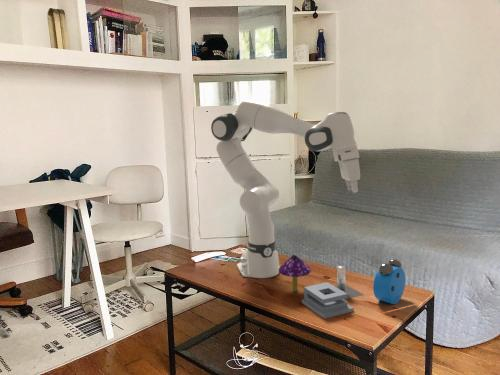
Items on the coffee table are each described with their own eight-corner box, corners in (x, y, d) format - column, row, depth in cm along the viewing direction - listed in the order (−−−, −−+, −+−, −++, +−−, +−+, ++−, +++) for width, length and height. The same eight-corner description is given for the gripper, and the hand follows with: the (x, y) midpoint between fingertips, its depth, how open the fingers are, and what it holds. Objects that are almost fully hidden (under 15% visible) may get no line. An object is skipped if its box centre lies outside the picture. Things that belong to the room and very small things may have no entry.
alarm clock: (389, 293, 151) (390, 255, 149) (405, 298, 146) (407, 258, 144) (372, 305, 142) (373, 264, 140) (389, 310, 137) (389, 268, 135)
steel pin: (335, 291, 153) (335, 266, 152) (342, 289, 155) (342, 265, 153) (340, 294, 151) (340, 268, 149) (346, 292, 152) (347, 267, 151)
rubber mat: (319, 290, 156) (319, 289, 156) (344, 284, 161) (344, 283, 161) (337, 302, 145) (337, 301, 145) (364, 295, 150) (364, 294, 150)
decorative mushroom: (288, 301, 147) (287, 261, 145) (273, 289, 159) (272, 252, 156) (317, 295, 151) (317, 256, 149) (301, 283, 163) (300, 248, 161)
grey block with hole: (301, 303, 145) (301, 287, 144) (329, 297, 149) (329, 281, 149) (323, 319, 132) (323, 302, 131) (353, 312, 137) (353, 295, 136)
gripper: (333, 156, 159) (340, 190, 160) (341, 156, 139) (349, 195, 139) (349, 153, 158) (356, 187, 159) (359, 152, 138) (367, 191, 139)
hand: (353, 191), depth 149 cm, fingers open, 8 cm apart
